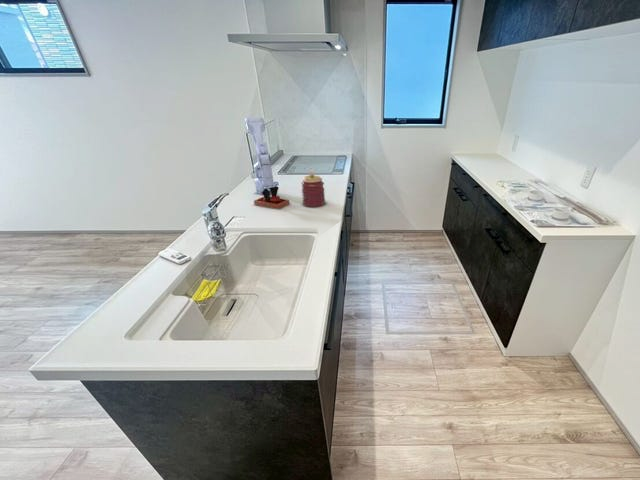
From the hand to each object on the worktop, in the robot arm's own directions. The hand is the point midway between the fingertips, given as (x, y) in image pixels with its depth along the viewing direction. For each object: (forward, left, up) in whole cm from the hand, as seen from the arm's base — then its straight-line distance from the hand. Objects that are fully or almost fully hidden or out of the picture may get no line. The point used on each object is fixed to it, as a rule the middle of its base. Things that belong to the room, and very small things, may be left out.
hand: (271, 200), depth 181 cm
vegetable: (0, 0, -2) cm, 2 cm away
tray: (0, 0, -2) cm, 2 cm away
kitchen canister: (+22, +11, -2) cm, 25 cm away
